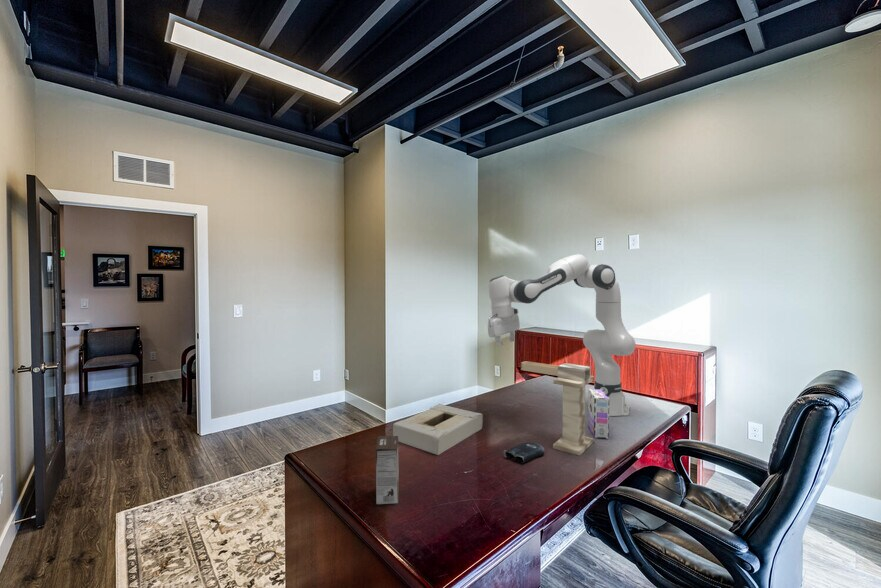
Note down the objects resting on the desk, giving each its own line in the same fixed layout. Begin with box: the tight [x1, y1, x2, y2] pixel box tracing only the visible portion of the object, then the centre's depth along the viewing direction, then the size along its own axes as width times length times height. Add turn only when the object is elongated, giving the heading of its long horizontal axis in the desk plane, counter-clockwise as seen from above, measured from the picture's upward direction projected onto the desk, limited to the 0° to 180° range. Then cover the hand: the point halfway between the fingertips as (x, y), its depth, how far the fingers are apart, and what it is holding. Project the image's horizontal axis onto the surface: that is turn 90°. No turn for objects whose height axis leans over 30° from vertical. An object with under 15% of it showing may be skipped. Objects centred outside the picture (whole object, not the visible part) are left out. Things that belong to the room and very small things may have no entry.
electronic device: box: [502, 441, 545, 465], centre depth 140 cm, size 9×6×15 cm
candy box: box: [587, 388, 610, 440], centre depth 160 cm, size 14×6×16 cm, turn 168°
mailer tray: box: [520, 360, 559, 377], centre depth 155 cm, size 4×18×3 cm, turn 50°
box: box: [392, 403, 484, 456], centre depth 159 cm, size 23×8×32 cm
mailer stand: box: [552, 362, 595, 456], centre depth 147 cm, size 15×10×30 cm, turn 140°
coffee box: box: [375, 435, 400, 505], centre depth 113 cm, size 9×6×16 cm
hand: (506, 343), depth 170 cm, fingers open, 8 cm apart
